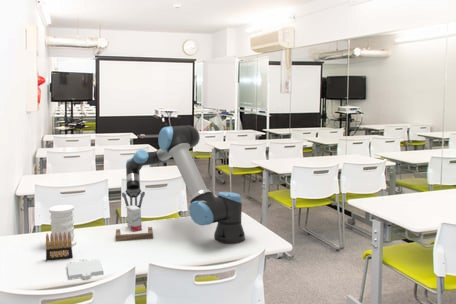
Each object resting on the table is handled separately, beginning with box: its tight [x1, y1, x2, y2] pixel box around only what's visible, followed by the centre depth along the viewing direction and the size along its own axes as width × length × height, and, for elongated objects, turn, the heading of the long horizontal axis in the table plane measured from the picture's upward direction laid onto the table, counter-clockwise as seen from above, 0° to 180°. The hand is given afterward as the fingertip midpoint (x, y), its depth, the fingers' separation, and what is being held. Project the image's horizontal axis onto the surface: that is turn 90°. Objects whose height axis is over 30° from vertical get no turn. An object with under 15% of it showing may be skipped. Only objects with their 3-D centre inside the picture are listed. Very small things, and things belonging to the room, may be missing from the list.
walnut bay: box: [114, 226, 154, 242], centre depth 216 cm, size 11×18×2 cm, turn 103°
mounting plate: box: [66, 258, 104, 281], centre depth 175 cm, size 18×13×2 cm
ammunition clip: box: [45, 232, 74, 262], centre depth 187 cm, size 11×2×12 cm, turn 106°
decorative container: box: [48, 204, 77, 247], centre depth 203 cm, size 12×12×18 cm
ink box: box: [126, 204, 143, 232], centre depth 227 cm, size 9×5×12 cm, turn 34°
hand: (134, 219), depth 234 cm, fingers closed
